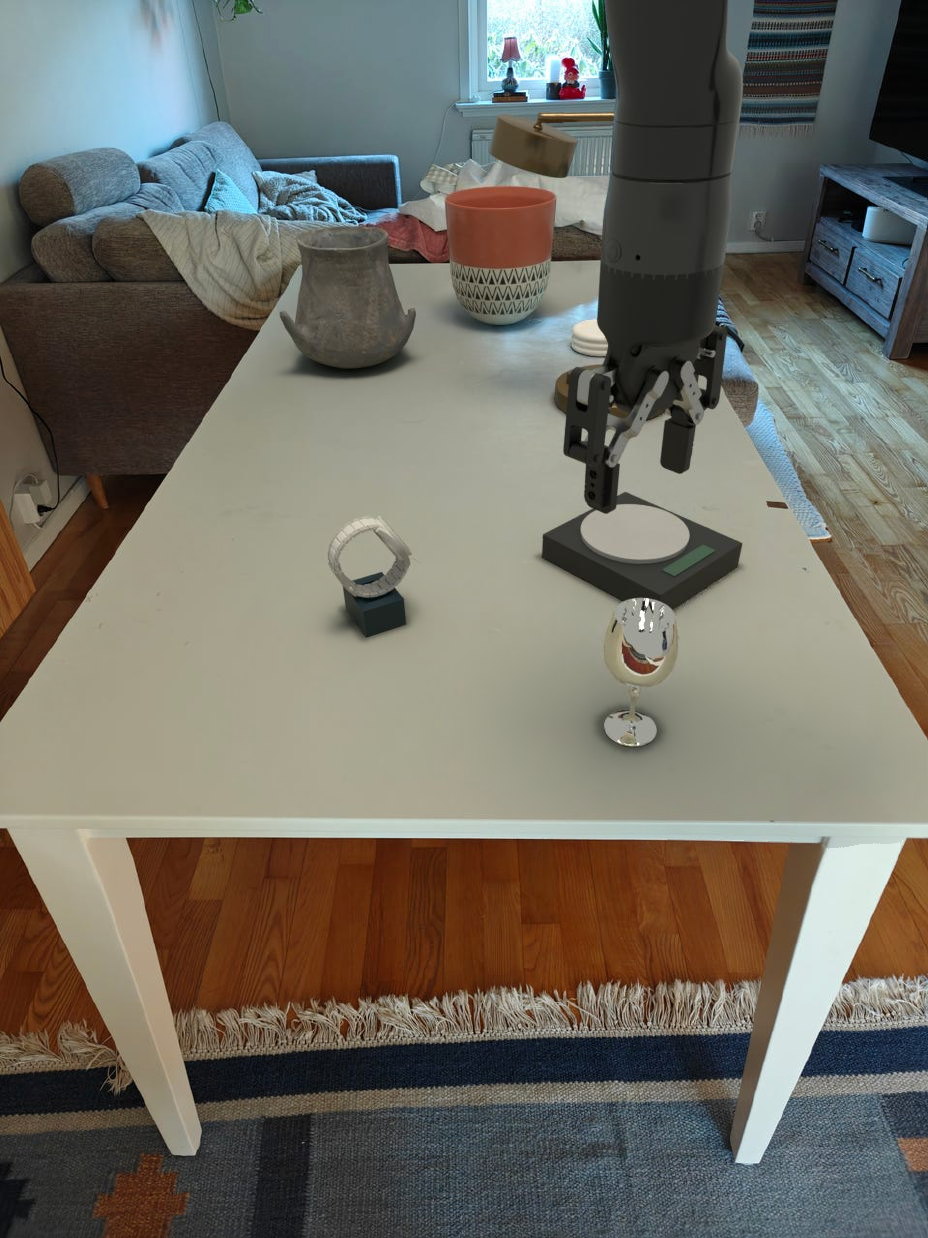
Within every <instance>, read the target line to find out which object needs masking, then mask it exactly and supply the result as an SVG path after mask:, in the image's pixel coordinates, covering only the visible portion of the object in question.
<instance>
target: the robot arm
mask: <svg viewBox="0 0 928 1238" xmlns="http://www.w3.org/2000/svg"><path fill="white" fill-rule="evenodd" d="M603 2H604V9H605V18H606V19H605V20H606V27H607V37H608V44H609V52H610V59H611V63H612V69H613V74H614V81H615V88H616V89H615V100H614V111H613V112H614V117H613V119H614V121H613V122H612V135H611V151H610V167H609V168H610V173H609V177H608V178H609V180H608V186H607V193H606V197H605V201H604V209H603V217H602V227H601V229H602V230H601V243H600V244H601V245H600V246H601V247H600V262H599V264H600V265H599V278H598V279H599V281H598V282H599V283H598V298H597V313H596V314H597V315H596V319H597V324H598V327H599V329H600V330H601V332H602V333H603V334H604V336H605V338H606V340H607V343H608V349H607V353H606V356H604V357H605V358H604V359H603V363H602V364H603V365H602V367H601V368H597V369H594V370H591V371H590V370H587V369H583V368H580V367H581V366H575V367H574V368H573V370H572V369H571V370H572V371H571V373H570V377H569V387H568V399H567V411H566V413H565V424H564V437H563V446H562V447H563V448H562V453H563V455H564V456H565V457H567V458H570V459H572V460H575V461H577V462H580V463H582V464H585V469H584V470H585V471H584V472H585V474H584V490H583V498H584V502H585V503H586V505H587V506H588V507H589V508H590V509H595V510H597V511H600V512H602V513H604V514H608V513H610V512H611V511H613V510H615V509H616V505H617V496H618V491H619V482H620V481H619V480H620V468H621V464H620V463H619V461H620V459H621V457H622V455H623V454H624V451H625V449H626V447H627V445H628V443H629V441H630V440H631V439H633V438H636V437H637V436H639V434H640V433H641V431H642V429H643V426H644V425H645V423H646V421H647V420H646V419H647V418H649V417H651V416H652V415H653V414H655V413H656V412H657V411H658V410H664V409H665V411H664V412H665V413H666V415H667V416H668V417H669V418H667V419H665V420H664V424H663V433H662V441H661V451H660V459H659V463H660V466H661V467H662V468H663V469H665V470H668V471H671V472H673V473H676V474H678V475H681V474H684V473H685V472H687V471H688V470H690V467H691V461H692V456H693V451H694V449H693V448H694V442H695V436H696V435H695V434H696V428H697V426H698V425H700V423H702V421H703V419H704V416H705V411H706V410H707V409H709V410H715V409H716V408H717V407H718V404H719V403H720V397H721V389H722V381H723V380H722V379H723V373H724V364H725V356H726V347H727V339H728V329H727V328H726V327H723V326H719V325H716V324H717V316H718V311H719V310H718V309H719V302H720V295H721V289H722V280H723V275H724V268H725V260H726V253H727V245H728V239H729V233H730V231H729V230H730V225H731V214H732V181H733V169H734V164H735V155H736V148H737V141H738V135H739V134H738V133H739V127H740V118H741V113H742V105H743V97H744V96H743V95H744V94H743V93H744V73H743V69H742V66H741V63H740V61H739V60H738V59H737V57H735V55H733V54H732V53H731V52H730V51H729V48H728V47H729V46H728V26H729V25H728V23H729V0H604V1H603ZM700 376H701V377H703V378H705V380H706V385H705V389H704V388H702V387H700V385H699V379H700V378H699V377H700ZM614 403H615V405H616V407H617V408H618V409H619V410H620V411H621V412H623V413H626V414H629V416H628V417H627V418H619V417H616V416H614V415H611V414H610V410H611V408H612V406H613V404H614ZM583 430H585V431H586V433H587V435H586V437H585V439H584V440H582V438H583V437H582V436H583ZM608 430H609V431H610V430H611V431H614V434H613V436H612V438H611V440H610V442H609V444H608V445H606V434H607V432H608Z"/></svg>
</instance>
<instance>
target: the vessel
mask: <svg viewBox="0 0 928 1238" xmlns="http://www.w3.org/2000/svg"><path fill="white" fill-rule="evenodd" d="M295 241H296V245H297V247H298V250H299V254H300V259H301V260H300V261H301V280H300V285H299V291H298V296H297V304H296V312H295V320H293V318H292V317H291V316H290V315H289V313H288V312H287V311H285V310H284V309H281V310H280V311H279V318H280V320H281V322H282V324H283V326H284V328H285V330H286V332H287V333H288V334H289V336H290V337H291V339H292V341H293V343H294V345H295V347H296V348H297V349H298V350H299V351H300V353H302V354H303V355H304V356H305V357H306V358H308V359H310V360H312V361H314V362H316V363H319V364H322V365H324V366H328V367H333V368H338V369H361V368H369V367H371V366H375V365H378V364H382V363H383V362H386V361H387V360H389V359H392V358H393V357H394V356H397V354H398V353H399V352H400V351H401V350H402V349H404V347H405V346H406V344H407V343H408V341H409V339H410V337H411V335H412V333H413V330H414V327H415V322H416V316H417V312H416V311H417V310H416V308H414V307H412V308H409V309H407V314H405V311H404V308H403V305H402V302H401V300H400V298H399V294H398V291H397V287H396V283H395V279H394V275H393V272H392V269H391V267H390V263H389V253H388V251H389V250H388V244H389V233H388V231H386V230H385V229H383V228H381V227H375V226H370V227H368V226H362V225H355V226H353V225H351V226H350V225H338V226H329V227H326V228H318V229H313V230H307V231H303V232H301V233H299V234H298V235H296V237H295Z"/></svg>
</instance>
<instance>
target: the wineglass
mask: <svg viewBox="0 0 928 1238" xmlns="http://www.w3.org/2000/svg"><path fill="white" fill-rule="evenodd" d="M678 653H679V631H678V623H677V617H676V613H675V612H674V609H671V608H670V607H669V606H667V605H666V604H664V603H662V602H660V601H657V600H653V599H649V598H633V599H629V600H626V601H622V602H620V603H618V605H617V606H616V607H615V609H614V611H613V614H612V616H611V618H610V622H609V623H608V626H607V629H606V633H605V637H604V641H603V659H604V664H605V666H606V668H607V670H608V671H609V673H610V675H611V676H612V677H613V678H614V679H616V680H617V681H618V682H620V683H621V684H623V685H625V686H628V690H629V691H628V692H629V694H630V695H629V696H630V705H629V709H619V710H616V711H613V712H612V713H610V714H609V715H607V717H606V718H605V720H604V723H603V729H604V732H605V733H606V736H607V737H608V738H609V739H610V740H612V742H615V743H616V744H618V745H621V746H625V747H633V748H635V747H636V748H637V747H642V746H643V747H644V746H646V745H648V744H650V743H651V742H652V741H654V739H655V738H656V736H657V733H658V728H657V725H656V723H655V721H654V720H653V719H652V717H650V716H649V715H648V714H646V713H644V712H642V711H639V710H636V708H637V702H638V699H639V696H640V694H641V693H642V690H643V688H645V689H646V688H650V687H655V686H656V685H660V684H661V683H662V682H664V681H665V680H666V679H667V678H668V677H669V676H670V675H671V673H672V672H673V670H674V668H675V666H676V663H677V659H678V655H679V654H678Z"/></svg>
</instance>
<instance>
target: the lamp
mask: <svg viewBox="0 0 928 1238" xmlns="http://www.w3.org/2000/svg"><path fill="white" fill-rule="evenodd" d="M613 117H614V111H612V112H610V111H609V112H604V111H603V112H563V111H559V112H558V111H557V112H553V111H552V112H548V111H547V112H537V120H534V119H529V118H526V117H522V116H518V115H515V114H507V113H499V114H497V116H496V119H495V124H494V127H493V130H492V131H493V132H492V135H491V138H490V139H491V140H490V143H489V147H488V153H489V155H491V156H492V157H493V158H495V159H497V160H498V161H500V162H502V163H505V164H507V165H509V166H511V167H513V168H517V169H519V170H523V171H526V172H528V173H532V174H536V175H539V176H543V177H548V178H549V177H550V178H555V179H565V178H567V177H568V175H569V171H570V168H571V165H572V161H573V159H574V156H575V152H576V150H577V149H576V148H577V146H578V143H579V142H578V141H579V140H578V139H577V138H576V137H574V136H573V135H571V134H569V133H568V132H565V131H563V130H561V129H559V128H557V127H553V126H551V125H548V124H564V123H613V121H614V119H613ZM602 365H603V363H600V364H590V365H584V366H583V365H582V366H579V367H580V368H583V369H587V370H590V371H591V370H594V369H597V368H601V367H602ZM573 369H574V368H573ZM573 369H569V370H567V371H565V372H564V373H562V374H560V375H559V376H558V377H557V379H556V380H555V385H554V402H555V405H556V406H557V407H558V408H559V409H560V410H561V411H562V412H564V413H565V414H566V411H567V399H568V387H569V377H570V373H571V371H572V370H573ZM664 412H666V411H665V409H664V410H658V411H657V412H656V413H655V414H653V415H652V416H651V417H649V418H647V419H646V421H648V420H651V419H654V418H656V417H658V416H660V415H662V414H663V413H664ZM610 414H611V415H614V416H616V417H619V418H627V417H628V416H629V414H626V413H623V412H621V411H620V410H619V409H618V408H617V407H616V405H615V403H614V404H613V406H612V408H611V410H610Z"/></svg>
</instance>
